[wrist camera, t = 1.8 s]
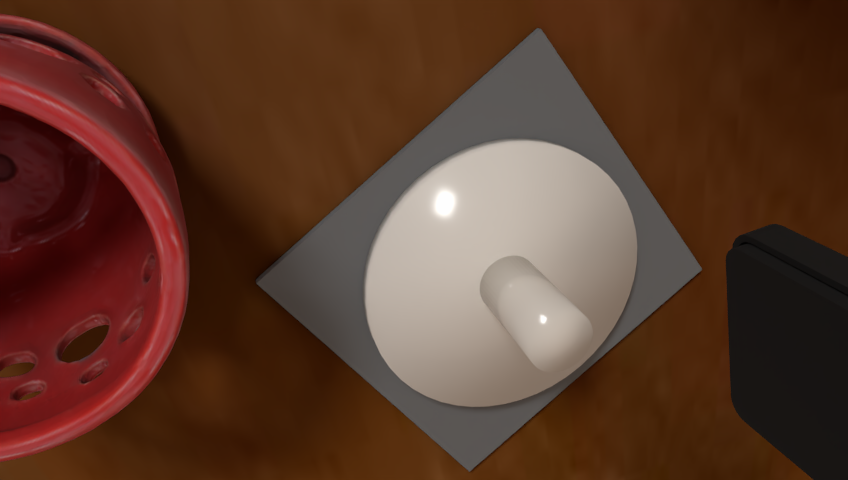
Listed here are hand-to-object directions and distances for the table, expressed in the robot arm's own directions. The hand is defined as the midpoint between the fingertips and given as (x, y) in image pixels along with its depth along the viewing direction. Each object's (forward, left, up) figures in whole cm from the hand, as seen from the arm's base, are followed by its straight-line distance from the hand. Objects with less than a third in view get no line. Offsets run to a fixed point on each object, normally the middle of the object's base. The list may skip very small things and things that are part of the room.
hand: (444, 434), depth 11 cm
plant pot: (+10, -3, -26) cm, 28 cm away
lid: (-2, +17, -26) cm, 31 cm away
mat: (-2, +17, -26) cm, 31 cm away
